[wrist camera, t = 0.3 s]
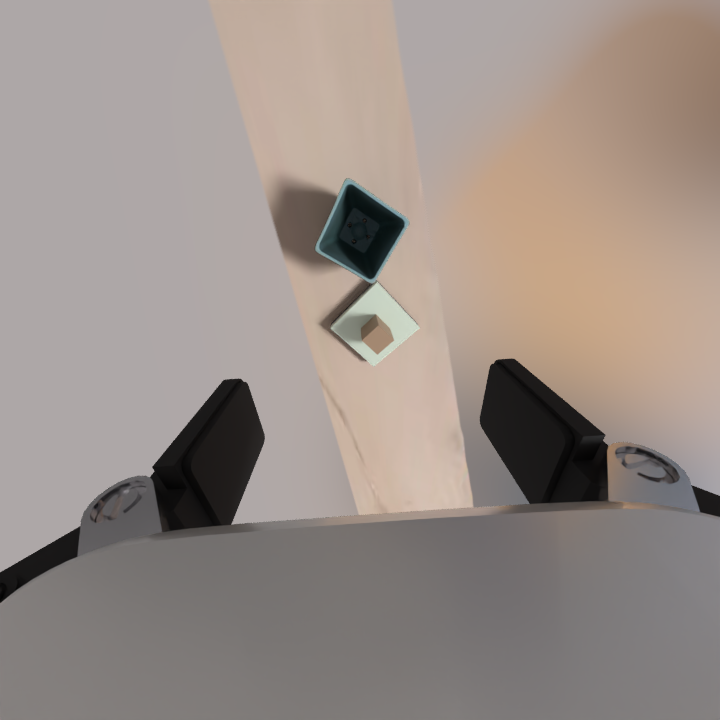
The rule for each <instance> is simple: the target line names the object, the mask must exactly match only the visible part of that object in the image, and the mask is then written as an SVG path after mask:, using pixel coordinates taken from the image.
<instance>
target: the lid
mask: <svg viewBox="0 0 720 720" xmlns="http://www.w3.org/2000/svg"><path fill="white" fill-rule="evenodd" d="M419 328H420V327H419V326H418V325H417V324H416V322H415V321H414V320H413V319H412V318H411V317H410V316H409V315H408V314H407V313H406V312H405V311H404V310H403V309H402V308H401V306H400V305H399V304H398V303H397V302H396V301H395V300H394V299H393V298H392V297H391V296H390V295H389V294H388V293H387V291H386V290H385V289H384V288H383V287H382V286H381V285H380V284H379V283H378V282H377V281H376V282H375V283H374V284H373V285H372V286H371V287H370V288H369V289H368V290H367V291H366V292H365V293H364V294H363V295H362V296H361V297H360V298H359V299H358V300H357V301H356V302H355V303H354V304H352V305H351V306H350V307H349V308H348V309H347V310H346V311H345V312H344V313H343V314H342V315H341V316H340V317H339V318H338V319H337V320H336V321H335V322H334V323H333V324H332V325H331V328H330V329H332V330H333V331H334V332H335V333H336V334H337V335H338V336H340V337H341V338H342V339H343V340H344V341H345V342H346V343H348V344H349V345H350V346H351V347H352V348H353V349H354V350H355V351H357V352H358V353H359V354H360V355H361V356H362V357H363V358H365V359H366V360H367V361H368V362H369V363H370V364H371V365H372V366H375V365H376V364H378V363H379V362H380V361H381V360H382V359H384V358H385V357H386V356H387V355H388V354H390V353H391V352H392V351H393V350H394V349H395V348H397V347H398V346H399V345H400V344H401V343H403V342H404V341H405V340H406V339H407V338H409V337H410V336H411V335H412V334H413V333H414V332H416V331H417V330H418V329H419Z"/></svg>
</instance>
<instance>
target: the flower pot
mask: <svg viewBox="0 0 720 720" xmlns="http://www.w3.org/2000/svg"><path fill="white" fill-rule="evenodd" d="M363 219H366V222H365V223H364V222H363ZM349 223H351V225H352V226H351V227H349V226H348V224H349ZM408 225H409V220H408V218H406V217H405V216H404V215H402V214H401V213H399V212H398V211H396V210H395V209H393V208H392V207H390V206H389V205H387V204H386V203H384V202H383V201H381V200H380V199H379V198H377V197H376V196H374V195H373V194H372V193H370V192H369V191H367V190H366V189H364V188H363V187H362V186H360V185H359V184H357V183H356V182H355V181H353V180H352V179H350V178H347V179H345V181H344V183H343V185H342V188H341V190H340V192H339V195H338V197H337V199H336V201H335V204H334V206H333V208H332V211H331V213H330V215H329V217H328V219H327V222H326V224H325V226H324V228H323V230H322V233H321V235H320V237H319V239H318V241H317V243H316V245H315V251H316V252H317V253H319V254H320V255H322V256H324V257H326V258H328V259H329V260H331V261H333V262H335V263H336V264H338V265H340V266H342V267H343V268H345V269H347V270H349V271H350V272H352V273H354V274H355V275H357V276H359V277H360V278H362V279H364V280H365V281H367V282H369V283H374V282H375V281H376V280H377V278H378V276H379V274H380V273H381V271H382V269H383V267H384V266H385V264H386V262H387V261H388V259H389V257H390V255H391V254H392V252H393V250H394V249H395V247H396V245H397V244H398V242H399V240H400V239H401V237H402V235H403V234H404V232H405V230H406V229H407V227H408ZM367 235H369V236H370V238H369V239H368V238H367ZM353 239H355V241H356V242H355V243H353V242H352V240H353Z"/></svg>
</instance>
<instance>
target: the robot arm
mask: <svg viewBox="0 0 720 720" xmlns="http://www.w3.org/2000/svg"><path fill="white" fill-rule="evenodd" d="M480 424H481V427H482V429H483V430H484V432H485V434H486V435H487V437H488V438H489V440H490V441H491V443H492V445H493V446H494V448H495V449H496V451H497V453H498V454H499V456H500V457H501V459H502V460H503V462H504V464H505V465H506V467H507V468H508V470H509V472H510V473H511V475H512V476H513V478H514V479H515V481H516V483H517V484H518V486H519V487H520V489H521V490H522V492H523V494H524V495H525V496H526V498H527V500H528V501H529V503H530V504H523V505H506V506H490V507H476V508H459V509H443V510H428V511H413V512H398V513H383V514H369V515H354V516H342V517H341V516H340V517H326V518H313V519H300V520H286V521H272V522H259V523H245V524H234V525H231V523H232V521H233V519H234V516H235V514H236V511H237V509H238V506H239V504H240V501H241V499H242V496H243V494H244V491H245V489H246V486H247V484H248V481H249V479H250V476H251V473H252V471H253V469H254V466H255V464H256V461H257V459H258V457H259V454H260V452H261V449H262V447H263V444H264V439H265V436H264V432H263V429H262V425H261V423H260V419H259V416H258V414H257V410H256V407H255V404H254V401H253V398H252V395H251V392H250V389H249V386H248V384H247V383H246V382H243V381H242V380H241V379H229V380H224V381H222V383H221V384H220V385H219V386H218V388H217V389H216V390H215V391H214V393H213V394H212V395H211V396H210V397H209V399H208V400H207V401H206V402H205V403H204V405H203V406H202V407H201V408H200V410H199V411H198V412H197V413H196V415H195V416H194V417H193V418H192V419H191V420H190V422H189V423H188V424H187V426H186V427H185V428H184V429H183V430H182V431H181V433H180V434H179V435H178V436H177V438H176V439H175V440H174V441H173V442H172V444H171V445H170V446H169V447H168V448H167V450H166V451H165V452H164V453H163V455H162V456H161V457H160V458H159V459H158V461H157V462H156V463H155V464H154V466H153V469H154V471H155V472H154V473H153V474H152V475H151V477H150V478H149V477H147V476H135V477H131V478H128V479H125V480H123V481H121V482H118V483H116V484H115V485H113V486H111V487H110V488H108V489H107V490H105V491H104V492H103V493H101V494H100V495H99V496H97V497H96V498H95V499H94V500H93V501H92V502H91V503H90V504H89V506H88V507H87V509H86V510H85V511H84V513H83V516H82V519H81V526H80V527H78V528H77V529H75V530H73V531H71V532H70V533H68V534H66V535H64V536H63V537H61V538H59V539H58V540H56V541H54V542H52V543H51V544H49V545H47V546H46V547H44V548H42V549H40V550H38V551H37V552H35V553H33V554H31V555H30V556H28V557H26V558H24V559H23V560H21V561H19V562H18V563H16V564H14V565H12V566H11V567H9V568H7V569H5V570H4V571H2V572H0V720H720V496H718V495H716V494H713V493H710V492H708V491H705V490H702V489H700V488H697V487H695V486H692V485H691V483H690V479H689V477H688V476H687V474H686V472H685V471H684V470H683V469H682V468H681V467H680V466H679V465H678V464H677V463H676V462H674V461H673V460H671V459H670V458H668V457H667V456H665V455H663V454H661V453H659V452H657V451H655V450H653V449H650V448H648V447H645V446H642V445H638V444H634V443H628V442H617V443H613V444H611V445H609V446H608V445H607V444H606V443H605V442H604V441H603V439H604V437H605V434H604V433H602V432H601V431H600V430H599V429H598V428H596V427H595V426H594V425H593V424H592V423H591V422H589V421H588V420H587V419H586V418H585V417H583V416H582V415H581V414H580V413H578V412H577V411H576V410H575V409H574V408H572V407H571V406H570V405H569V404H568V403H567V402H565V401H564V400H563V399H562V398H561V397H559V396H558V395H557V394H556V393H555V392H553V391H552V390H551V389H550V388H549V387H547V386H546V385H545V384H544V383H543V382H541V381H540V380H539V379H538V378H537V377H535V376H534V375H533V374H532V373H531V372H529V371H528V370H527V369H526V368H525V367H523V366H522V365H521V364H520V363H518V361H516V360H515V359H501V360H496V361H495V363H494V364H492V365H491V366H490V369H489V374H488V379H487V384H486V390H485V395H484V400H483V405H482V410H481V415H480Z"/></svg>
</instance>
